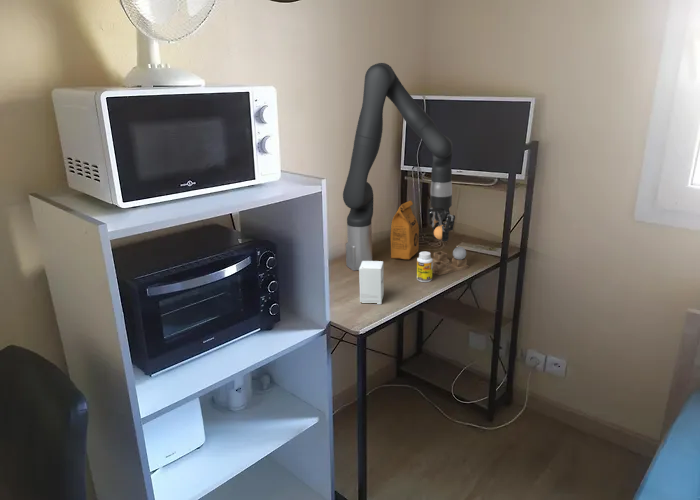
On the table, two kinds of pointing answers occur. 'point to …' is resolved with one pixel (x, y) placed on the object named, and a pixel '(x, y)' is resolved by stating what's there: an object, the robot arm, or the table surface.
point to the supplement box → (371, 282)
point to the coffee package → (404, 233)
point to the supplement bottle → (424, 267)
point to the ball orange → (438, 232)
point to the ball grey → (459, 253)
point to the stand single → (440, 257)
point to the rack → (449, 266)
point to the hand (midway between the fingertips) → (440, 238)
